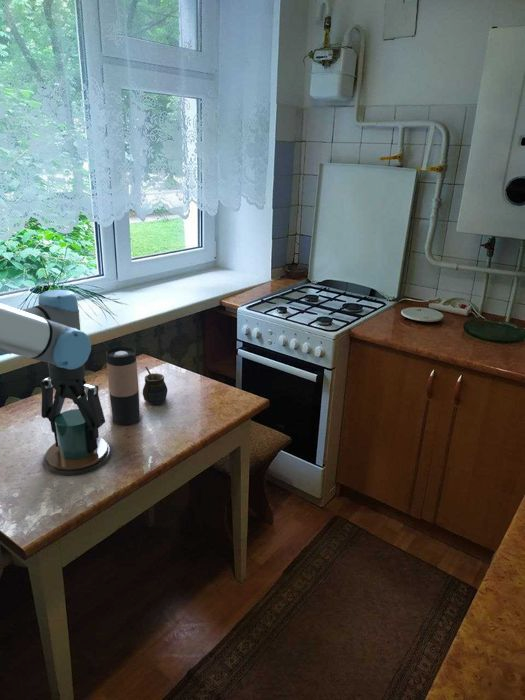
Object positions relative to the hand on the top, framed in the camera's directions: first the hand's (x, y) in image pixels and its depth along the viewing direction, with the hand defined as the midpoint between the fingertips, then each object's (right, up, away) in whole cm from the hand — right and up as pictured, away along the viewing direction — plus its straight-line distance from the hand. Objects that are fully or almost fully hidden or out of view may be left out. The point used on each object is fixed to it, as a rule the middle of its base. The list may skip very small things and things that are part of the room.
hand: (76, 446), depth 118 cm
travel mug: (+7, +4, +19) cm, 20 cm away
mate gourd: (+13, +8, +29) cm, 32 cm away
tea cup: (0, -2, +1) cm, 2 cm away
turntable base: (0, -3, +1) cm, 3 cm away
